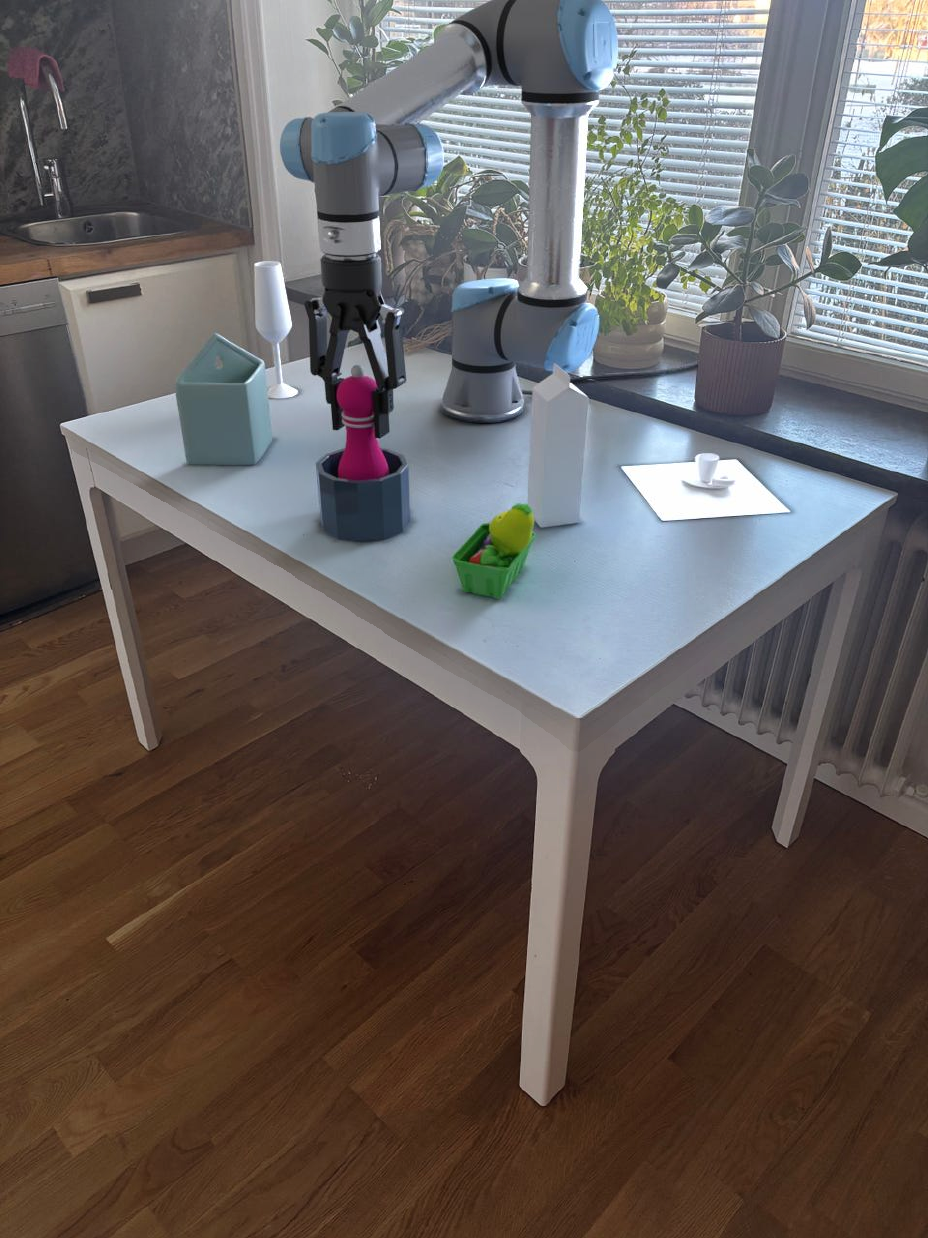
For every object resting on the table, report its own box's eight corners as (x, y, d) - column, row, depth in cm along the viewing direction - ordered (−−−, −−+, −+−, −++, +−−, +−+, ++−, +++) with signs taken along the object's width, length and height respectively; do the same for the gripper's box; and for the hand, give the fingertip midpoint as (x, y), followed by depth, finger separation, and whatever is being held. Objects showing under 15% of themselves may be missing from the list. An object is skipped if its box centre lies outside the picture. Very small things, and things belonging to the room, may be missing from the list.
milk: (540, 528, 135) (548, 378, 123) (526, 510, 139) (532, 364, 127) (579, 523, 136) (591, 374, 124) (564, 505, 141) (573, 360, 129)
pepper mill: (398, 495, 136) (393, 359, 126) (378, 516, 131) (371, 376, 120) (353, 488, 138) (344, 354, 128) (331, 509, 133) (320, 370, 122)
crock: (399, 498, 142) (397, 442, 138) (416, 536, 132) (415, 477, 127) (316, 507, 140) (311, 450, 135) (327, 546, 129) (322, 486, 125)
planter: (210, 478, 148) (192, 354, 138) (186, 463, 153) (166, 342, 142) (297, 451, 158) (286, 333, 147) (271, 438, 162) (258, 323, 152)
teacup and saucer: (741, 491, 145) (746, 467, 143) (693, 494, 144) (696, 470, 142) (719, 469, 153) (723, 445, 150) (673, 472, 151) (676, 448, 149)
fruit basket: (482, 554, 128) (484, 478, 122) (544, 567, 125) (548, 489, 119) (449, 594, 119) (449, 514, 113) (514, 608, 116) (518, 527, 110)
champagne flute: (303, 388, 185) (291, 260, 172) (290, 399, 179) (277, 268, 166) (271, 385, 186) (257, 258, 173) (257, 396, 180) (242, 266, 167)
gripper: (269, 252, 117) (287, 428, 129) (403, 267, 110) (408, 452, 122) (303, 241, 122) (317, 411, 135) (432, 255, 115) (435, 433, 128)
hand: (361, 430), depth 129 cm, fingers closed on pepper mill, 6 cm apart
